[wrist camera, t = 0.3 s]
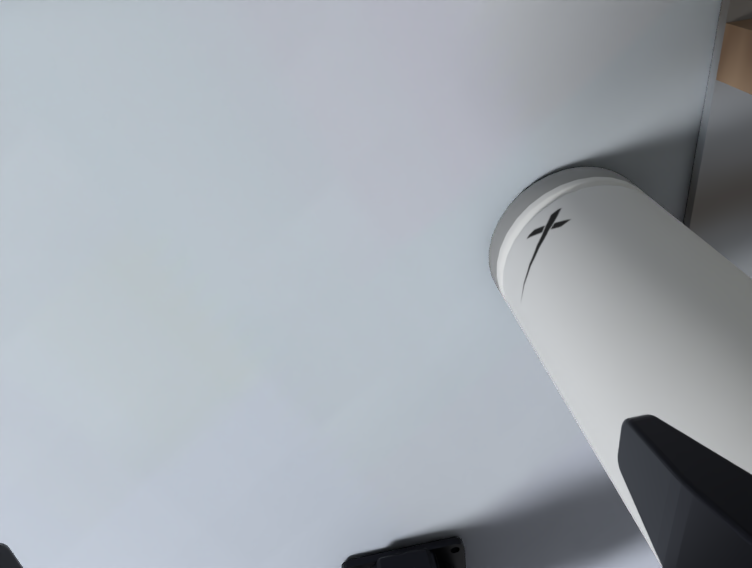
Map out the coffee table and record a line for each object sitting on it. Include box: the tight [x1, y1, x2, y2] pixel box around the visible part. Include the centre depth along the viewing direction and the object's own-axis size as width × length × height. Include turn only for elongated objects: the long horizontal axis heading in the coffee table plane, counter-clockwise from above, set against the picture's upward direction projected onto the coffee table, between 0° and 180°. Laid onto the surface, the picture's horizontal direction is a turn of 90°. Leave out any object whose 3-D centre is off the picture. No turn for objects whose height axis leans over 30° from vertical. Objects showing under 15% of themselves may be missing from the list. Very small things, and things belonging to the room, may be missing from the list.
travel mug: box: [489, 167, 752, 568], centre depth 16 cm, size 6×7×20 cm
